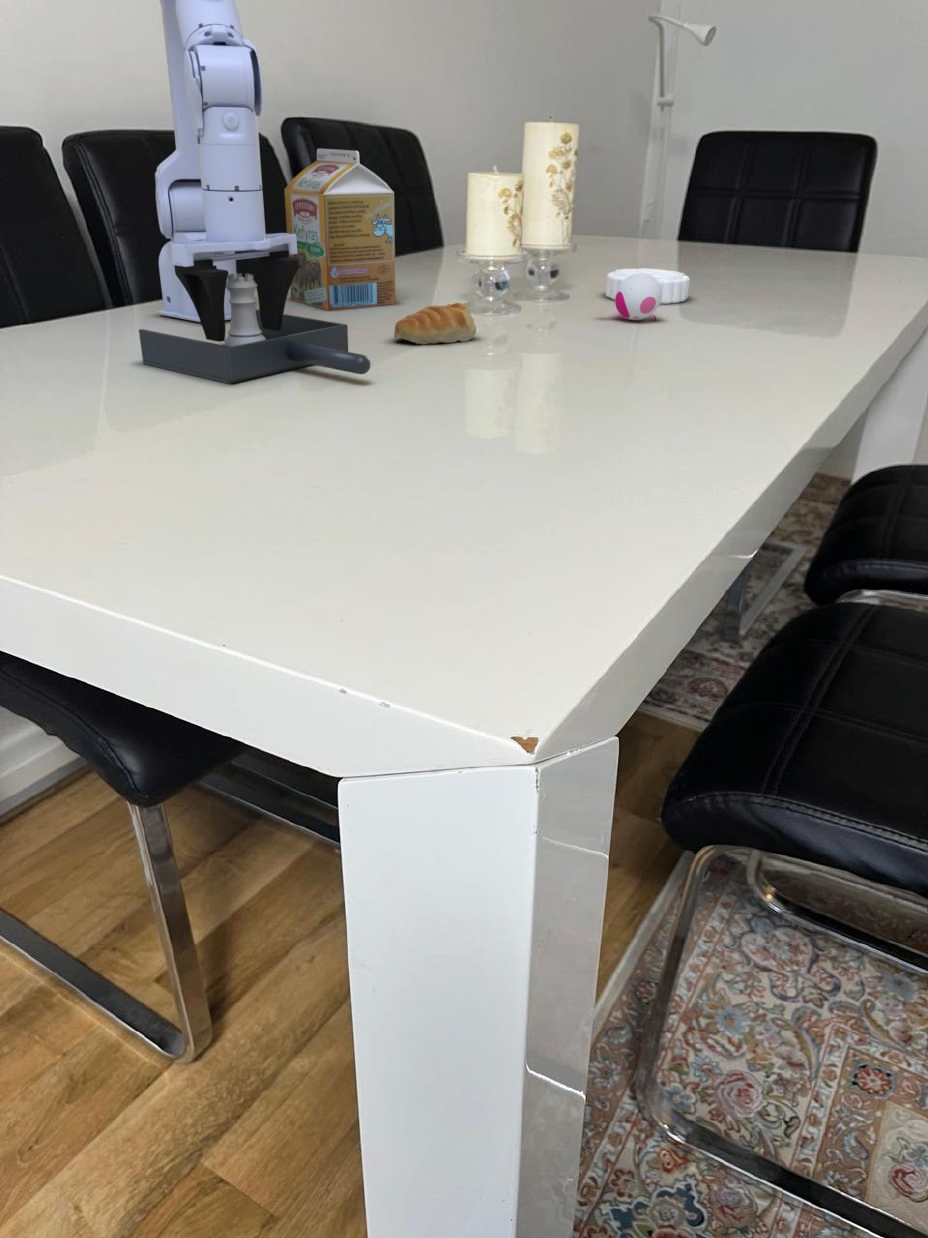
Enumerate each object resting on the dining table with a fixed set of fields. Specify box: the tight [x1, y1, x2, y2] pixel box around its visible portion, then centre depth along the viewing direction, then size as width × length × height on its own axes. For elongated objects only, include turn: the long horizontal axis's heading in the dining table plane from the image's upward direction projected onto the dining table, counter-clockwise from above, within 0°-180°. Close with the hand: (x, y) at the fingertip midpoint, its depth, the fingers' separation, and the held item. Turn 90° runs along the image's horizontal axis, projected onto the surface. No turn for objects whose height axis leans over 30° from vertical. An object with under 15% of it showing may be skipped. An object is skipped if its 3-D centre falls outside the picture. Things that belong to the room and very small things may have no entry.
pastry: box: [393, 302, 477, 345], centre depth 110 cm, size 9×7×4 cm
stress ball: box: [609, 273, 662, 322], centre depth 124 cm, size 8×8×7 cm
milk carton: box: [283, 148, 396, 312], centre depth 129 cm, size 11×11×19 cm
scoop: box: [138, 309, 372, 385], centre depth 96 cm, size 23×16×3 cm
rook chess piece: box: [224, 272, 266, 347], centre depth 98 cm, size 4×4×8 cm
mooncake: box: [605, 267, 691, 305], centre depth 141 cm, size 12×12×4 cm
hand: (244, 334), depth 99 cm, fingers open, 7 cm apart
